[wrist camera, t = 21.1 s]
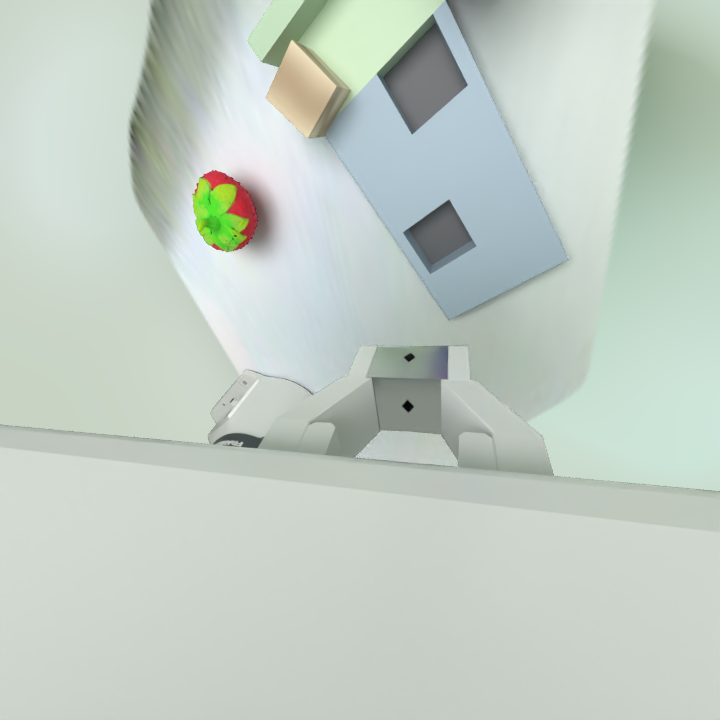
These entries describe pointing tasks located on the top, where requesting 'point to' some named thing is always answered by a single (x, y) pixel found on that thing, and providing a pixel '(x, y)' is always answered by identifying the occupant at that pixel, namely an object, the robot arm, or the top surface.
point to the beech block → (307, 91)
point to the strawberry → (224, 212)
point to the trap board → (423, 142)
